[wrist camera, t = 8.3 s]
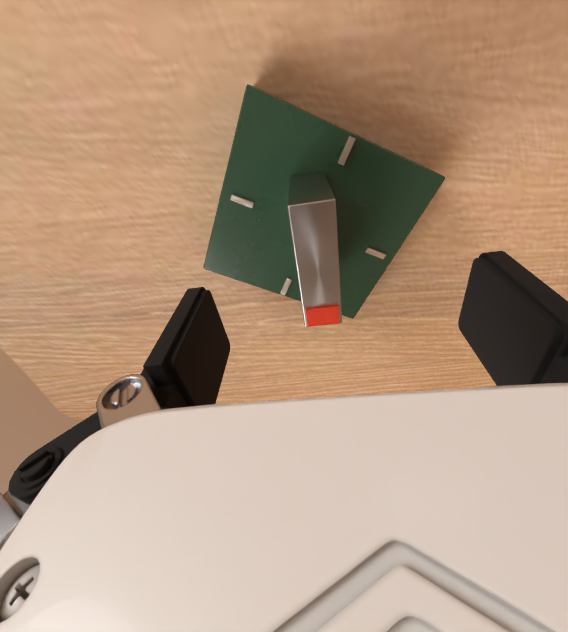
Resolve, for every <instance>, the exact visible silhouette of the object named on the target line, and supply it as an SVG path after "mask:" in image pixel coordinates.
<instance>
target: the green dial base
mask: <svg viewBox="0 0 568 632" xmlns="http://www.w3.org/2000/svg"><path fill="white" fill-rule="evenodd" d="M320 171H324V174H325V176H326V178H327V181H328V183H329V185H330V188H331V190H332V193H333V195H334V197H335V200H336V216H337V236H338V255H339V274H340V294H341V313H342V315H344V316H347V317H350V318H354V317H355V315H356V314H357V312H358V311H359V309H360V308H361V306H362V304H363V303H364V301H365V300H366V298H367V297H368V295H369V294H370V292H371V291H372V289H373V288H374V286H375V285H376V283H377V282H378V280H379V279H380V277H381V275H382V274H383V272H384V271H385V269H386V268H387V266H388V265H389V263H390V262H391V260H392V259H393V257H394V256H395V254H396V253H397V251H398V250H399V248H400V247H401V245H402V243H403V242H404V240H405V239H406V237H407V236H408V234H409V233H410V231H411V230H412V228H413V227H414V225H415V224H416V222H417V221H418V219H419V218H420V216H421V214H422V213H423V211H424V210H425V208H426V207H427V205H428V204H429V202H430V201H431V199H432V198H433V196H434V195H435V193H436V192H437V190H438V189H439V187H440V185H441V184H442V182H443V181H444V179H445V177H444V176H442V175H440V174H438V173H436V172H434V171H432V170H430V169H428V168H426V167H424V166H422V165H419V164H417V163H415V162H413V161H411V160H409V159H407V158H405V157H402V156H400V155H398V154H396V153H394V152H392V151H390V150H388V149H385V148H383V147H381V146H379V145H377V144H375V143H373V142H370V141H368V140H366V139H364V138H362V137H360V136H358V135H356V134H353V133H351V132H349V131H347V130H345V129H343V128H341V127H339V126H336V125H334V124H332V123H330V122H328V121H326V120H324V119H322V118H319V117H317V116H315V115H313V114H311V113H309V112H307V111H305V110H302V109H300V108H298V107H296V106H294V105H292V104H290V103H288V102H285V101H283V100H281V99H279V98H277V97H275V96H273V95H271V94H268V93H266V92H264V91H262V90H260V89H258V88H256V87H254V86H251V85H247V86H246V90H245V94H244V98H243V102H242V106H241V111H240V115H239V119H238V123H237V128H236V132H235V136H234V140H233V145H232V149H231V153H230V157H229V161H228V166H227V170H226V174H225V178H224V183H223V187H222V191H221V195H220V199H219V204H218V208H217V212H216V216H215V221H214V225H213V229H212V233H211V238H210V242H209V246H208V250H207V254H206V259H205V263H204V267H203V268H204V269H207V270H210V271H212V272H215V273H218V274H221V275H224V276H227V277H230V278H233V279H236V280H239V281H242V282H245V283H248V284H251V285H254V286H257V287H260V288H263V289H266V290H269V291H272V292H275V293H278V294H281V295H284V296H287V297H290V298H293V299H296V300H299V301H301V295H300V288H299V282H298V275H297V268H296V261H295V254H294V247H293V241H292V234H291V227H290V220H289V213H288V193H289V178H290V176H296V175H302V174H308V173H314V172H320Z"/></svg>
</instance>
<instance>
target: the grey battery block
mask: <svg viewBox="0 0 568 632" xmlns="http://www.w3.org/2000/svg"><path fill="white" fill-rule="evenodd" d="M288 213H289V220H290V227H291V234H292V241H293V247H294V254H295V261H296V268H297V275H298V282H299V288H300V295H301V302H302V309H303V316H304V322H305V326H306V327H310V326H319V325H329V324H338V323H342V313H341V294H340V274H339V255H338V236H337V216H336V200H335V197H334V195H333V193H332V190H331V188H330V185H329V183H328V181H327V178H326V176H325V174H324V171H320V172H314V173H308V174H302V175H296V176H290V178H289V193H288Z"/></svg>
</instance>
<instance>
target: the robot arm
mask: <svg viewBox="0 0 568 632" xmlns="http://www.w3.org/2000/svg"><path fill="white" fill-rule="evenodd" d="M458 324H459V329H460V331H461V332H462V334H463V335H464V337H465V338H466V340H467V341H468V343H469V344H470V346H471V347H472V349H473V350H474V352H475V353H476V355H477V356H478V358H479V359H480V361H481V362H482V364H483V365H484V367H485V368H486V370H487V371H488V373H489V374H490V376H491V377H492V379H493V380H494V382H495V383H496V385H497V386H489V387H471V388H454V389H437V390H420V391H404V392H388V393H372V394H356V395H341V396H325V397H310V398H296V399H281V400H267V401H252V402H238V403H225V404H215V403H216V399H217V396H218V392H219V388H220V385H221V381H222V378H223V374H224V370H225V367H226V363H227V359H228V356H229V352H230V343H229V340H228V337H227V335H226V332H225V329H224V326H223V324H222V321H221V318H220V316H219V313H218V310H217V308H216V305H215V302H214V300H213V297H212V294H211V292H210V291H209V290H206V289H205V288H204V287H199V288H191V289H188V290H187V291H186V293H185V294H184V296H183V298H182V300H181V301H180V303H179V305H178V307H177V308H176V310H175V312H174V313H173V315H172V317H171V319H170V320H169V322H168V324H167V326H166V327H165V329H164V331H163V333H162V334H161V336H160V338H159V339H158V341H157V343H156V345H155V346H154V348H153V350H152V352H151V353H150V355H149V357H148V358H147V360H146V362H145V364H144V365H143V367H144V369H143V371H142V373H141V374H140V375H139V374H131V375H127V376H124V377H121V378H119V379H117V380H115V381H114V382H112V383H111V384H109V385H108V386H107V387H106V388H105V389H104V390H103V391H102V393H101V394H100V395H99V397H98V400H97V402H96V408H97V412H96V413H95V414H93V415H91V416H90V417H88V418H87V419H85V420H84V421H82V422H80V423H79V424H77V425H76V426H74V427H73V428H71V429H69V430H68V431H66V432H65V433H63V434H62V435H60V436H58V437H57V438H56V439H54V440H52V441H51V442H49V443H47V444H46V445H44V446H43V447H41V448H40V449H38V450H37V451H35V452H34V453H33V454H31V455H30V456H29V457H27V458H26V459H25V460H24V461H23V462H22V463H21V464H20V466H19V467H18V468H17V470H16V471H15V472H14V474H13V476H12V478H11V480H10V482H9V490H8V491H7V492H6V493H5V494H2V493H0V632H568V301H566V300H565V299H564V298H563V297H561V296H560V295H559V294H557V293H556V292H555V291H554V290H552V289H551V288H550V287H549V286H547V285H546V284H545V283H543V282H542V281H541V280H540V279H538V278H537V277H536V276H534V275H533V274H532V273H531V272H529V271H528V270H527V269H526V268H524V267H523V266H522V265H520V264H519V263H518V262H517V261H515V260H514V259H513V258H512V257H510V256H509V255H508V254H506V253H505V252H503V251H496V252H488V253H482V254H481V255H480V256H479V258H476V259H475V260H474V261H473V264H472V268H471V272H470V276H469V280H468V284H467V289H466V293H465V297H464V301H463V305H462V309H461V313H460V317H459V322H458Z"/></svg>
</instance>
